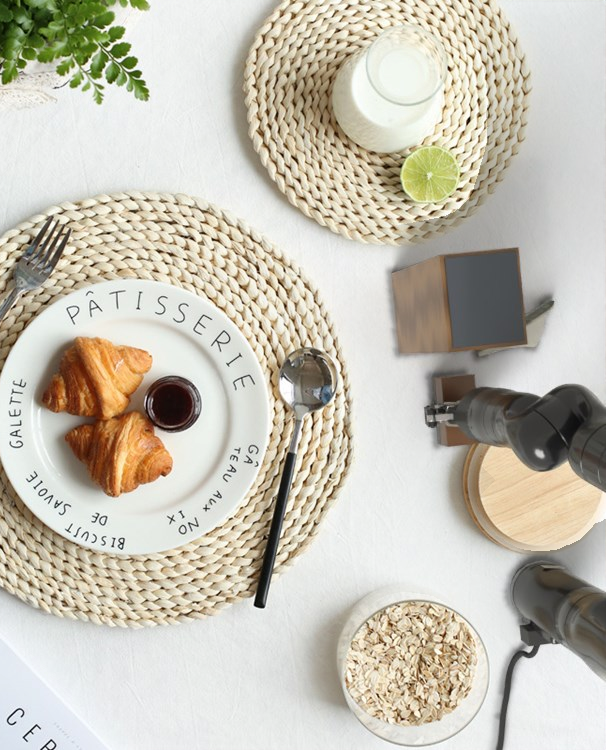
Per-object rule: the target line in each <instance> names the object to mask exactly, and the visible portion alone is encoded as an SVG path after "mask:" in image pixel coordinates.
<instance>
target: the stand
mask: <svg viewBox="0 0 606 750" xmlns="http://www.w3.org/2000/svg"><path fill="white" fill-rule="evenodd" d="M514 251H516V252H517V263H518V273H519V284H520V294H521V305H522V316H523V326H524V337H525V341H518V342H509V343H499V344H490V345H480V346H471V347H461V348H453V347H452V336H451V326H450V316H449V305H448V295H447V285H446V274H445V264H444V258H453V257H463V256H473V255H483V254H493V253H504V252H514ZM390 275H391V286H392V293H393V294H392V295H393V296H392V297H393V305H394V306H393V307H394V316H395V324H396V325H395V327H396V336H397V346H398V354H399V355H410V354H411V355H413V354H415V355H416V354H452V353H460V352H461V353H462V352H469V351H477V350H480V349H490V348H499V347H509V346H518V345H527V344H528V342H527V331H526V321H525V315H526V312H525V311H526V310H525V302H524V289H523V278H522V269H521V259H520V248H519V247H518V246H516V247H505V248H497V249H486V250H475V251H467V252H454V253H445V254H438V255H436V256H433V257H431V258H428V259H425V260H422V261H420V262H418V263H415V264H412V265H410V266H408V267H407V266H406V267H404V268H401V269H399V270H397V271H393V272H391V273H390Z"/></svg>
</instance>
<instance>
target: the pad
mask: <svg viewBox="0 0 606 750" xmlns="http://www.w3.org/2000/svg"><path fill="white" fill-rule="evenodd" d="M444 264H445V274H446V285H447V295H448V305H449V316H450V326H451V336H452V347H453V348H461V347H471V346H480V345H490V344H499V343H509V342H518V341H525V337H524V326H523V316H522V305H521V294H520V284H519V273H518V263H517V252H516V251H514V252H504V253H493V254H483V255H473V256H463V257H453V258H444Z"/></svg>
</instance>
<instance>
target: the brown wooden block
mask: <svg viewBox="0 0 606 750" xmlns="http://www.w3.org/2000/svg"><path fill="white" fill-rule="evenodd" d="M475 376H476V375H475V374H472V373H462V374H461V373H460V374H450V375H442V376H432V377H431V378H430V380H431V388H432V399H433V404H444V402H450V401H459V400H461V399H462V398H463V397H464V395H465V394H467V393H468V392H469V391H471V390H473V389H475V388H477V386H476V377H475ZM454 407H455V406H454ZM435 430H436V440H437V441H436V442H437V445H440V446H444V447H446V448H451V447H459V446H460V447H461V446H468V445H476V444H481V443H480V442H476V441H473V440H471V439H470V438H468V437H467V436H466V435H465V434H464V433H463V432H462V431H461V429H460V428H459V427H455V426H447V425H446V424H445V423H444V422H442V423H440V425H439V426H437V427H435Z"/></svg>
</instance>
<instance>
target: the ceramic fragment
mask: <svg viewBox="0 0 606 750" xmlns="http://www.w3.org/2000/svg"><path fill="white" fill-rule="evenodd" d="M554 305H555V300H553V299H546V300H545V301H544V302H542V303H541V304H540V305H539V306H537V307H536V308H535V309H532V311H530V312H528V313H526V314H525V321H526V331H527V342H528V344H527V345H518V346H509V347H499V348H490V349H480V350H476V354H477V357H478V358H481V357H484V356H487V355H491V354H493V353H496V352H500V351H505V350H510V349H515V348H536V347H537V346H538V343H539V341H540V339H541V337H542V335H543V331H544V329H545V325H546V320H547V317H548V314H549V312H550V311H551V310H553V308H554Z"/></svg>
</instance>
